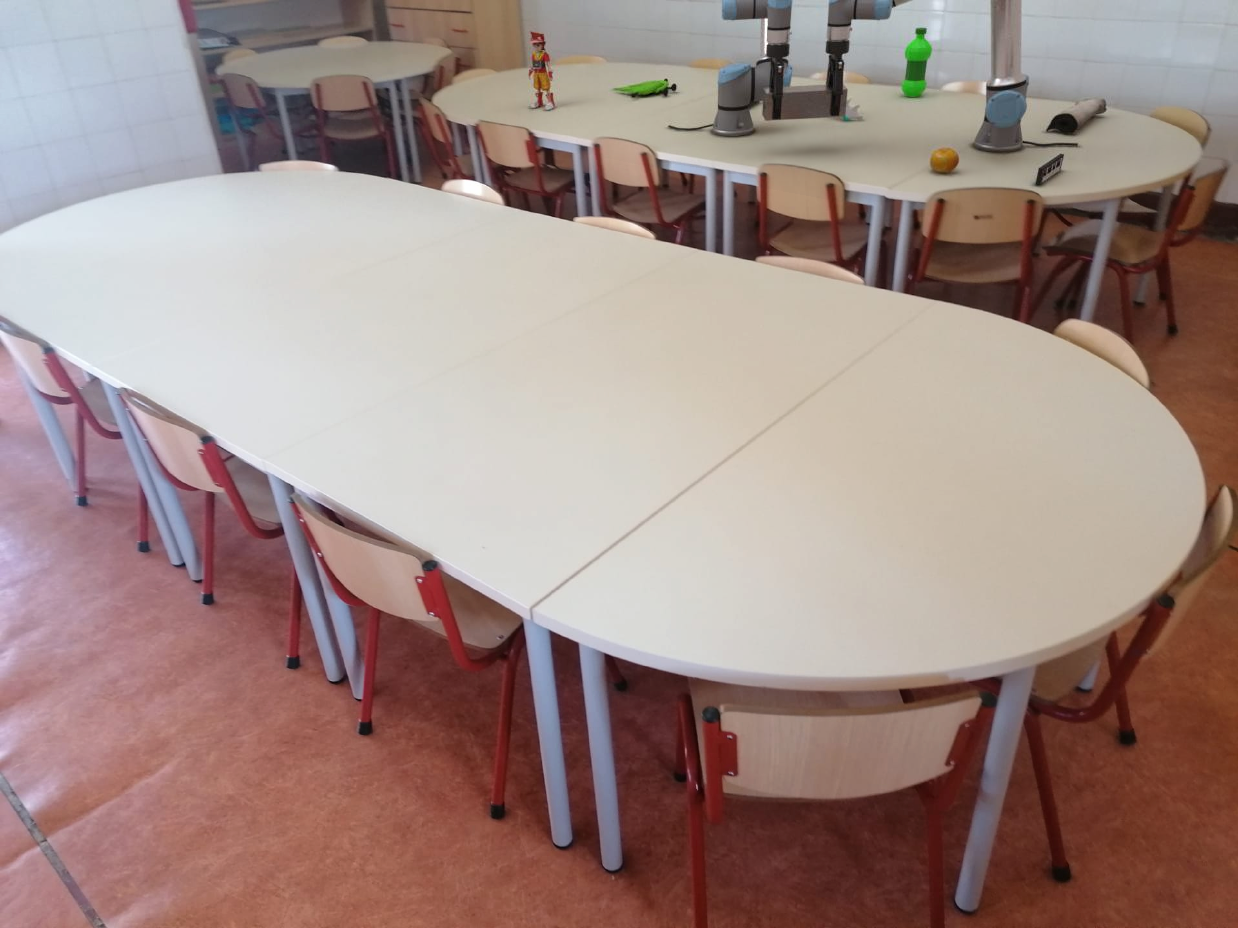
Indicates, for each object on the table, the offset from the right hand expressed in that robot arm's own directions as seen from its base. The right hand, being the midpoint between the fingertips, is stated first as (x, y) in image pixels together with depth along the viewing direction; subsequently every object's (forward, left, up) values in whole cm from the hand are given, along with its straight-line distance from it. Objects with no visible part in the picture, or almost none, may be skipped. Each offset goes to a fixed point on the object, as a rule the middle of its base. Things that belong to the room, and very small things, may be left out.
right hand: (832, 112), depth 304 cm
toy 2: (+75, -94, -13) cm, 121 cm away
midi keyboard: (-63, +35, -13) cm, 73 cm away
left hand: (+19, +2, 0) cm, 19 cm away
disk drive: (+30, -66, -13) cm, 73 cm away
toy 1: (+115, -71, -13) cm, 136 cm away
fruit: (-33, +27, -13) cm, 45 cm away
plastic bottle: (-39, -74, -13) cm, 85 cm away
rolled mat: (-89, -26, -13) cm, 93 cm away
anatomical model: (-9, -44, -13) cm, 46 cm away
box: (+10, +1, -1) cm, 10 cm away
